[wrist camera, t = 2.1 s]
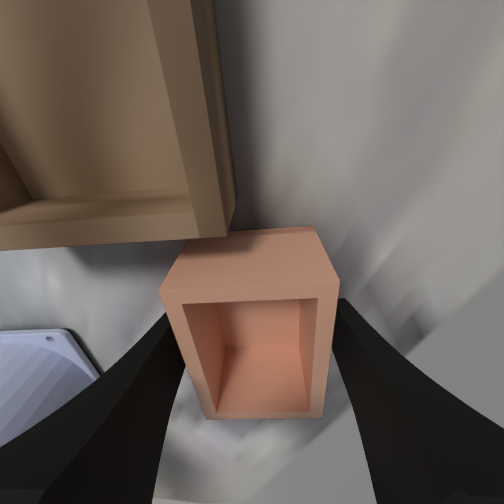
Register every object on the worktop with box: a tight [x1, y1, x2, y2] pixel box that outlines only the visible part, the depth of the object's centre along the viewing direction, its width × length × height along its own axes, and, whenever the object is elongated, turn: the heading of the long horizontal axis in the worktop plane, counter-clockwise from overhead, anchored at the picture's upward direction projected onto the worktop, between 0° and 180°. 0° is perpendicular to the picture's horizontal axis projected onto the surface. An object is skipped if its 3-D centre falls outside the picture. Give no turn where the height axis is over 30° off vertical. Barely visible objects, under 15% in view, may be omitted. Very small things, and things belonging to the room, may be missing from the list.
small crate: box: [158, 226, 340, 419], centre depth 11 cm, size 6×8×4 cm
